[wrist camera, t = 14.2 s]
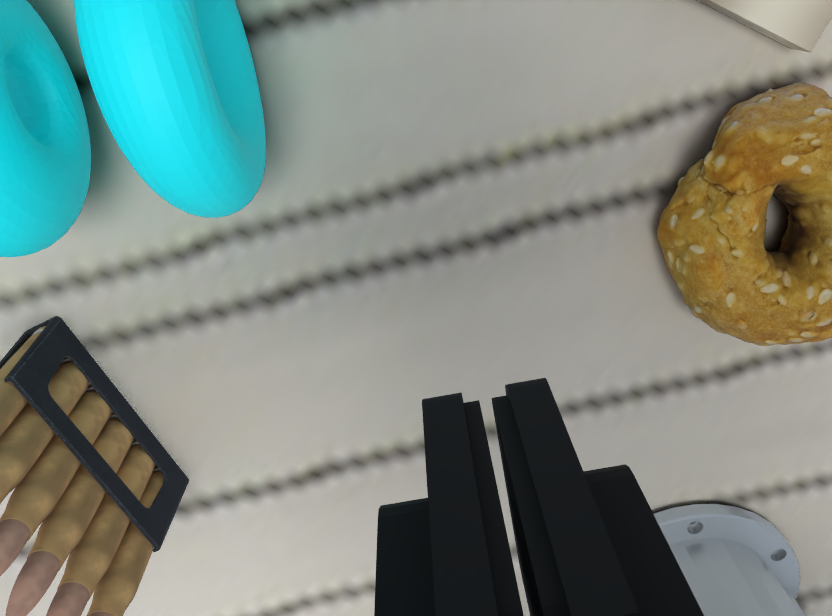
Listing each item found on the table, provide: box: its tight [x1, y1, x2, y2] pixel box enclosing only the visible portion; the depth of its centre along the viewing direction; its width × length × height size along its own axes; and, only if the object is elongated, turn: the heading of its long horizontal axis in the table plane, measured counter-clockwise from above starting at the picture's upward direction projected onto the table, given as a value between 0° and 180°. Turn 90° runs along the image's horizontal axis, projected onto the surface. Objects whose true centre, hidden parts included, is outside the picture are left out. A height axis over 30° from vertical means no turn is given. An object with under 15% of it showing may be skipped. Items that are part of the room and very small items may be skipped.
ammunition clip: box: [0, 317, 189, 616], centre depth 29 cm, size 11×2×12 cm, turn 26°
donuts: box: [0, 0, 266, 257], centre depth 24 cm, size 10×10×10 cm
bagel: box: [657, 82, 832, 346], centre depth 30 cm, size 10×11×5 cm
